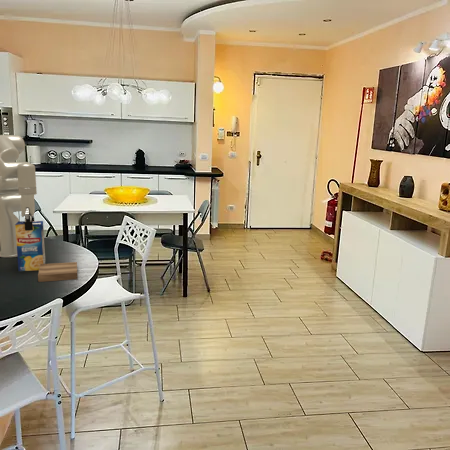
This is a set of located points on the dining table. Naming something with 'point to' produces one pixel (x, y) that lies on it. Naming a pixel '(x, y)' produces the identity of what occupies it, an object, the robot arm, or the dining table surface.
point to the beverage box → (30, 246)
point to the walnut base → (57, 271)
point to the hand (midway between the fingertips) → (30, 228)
